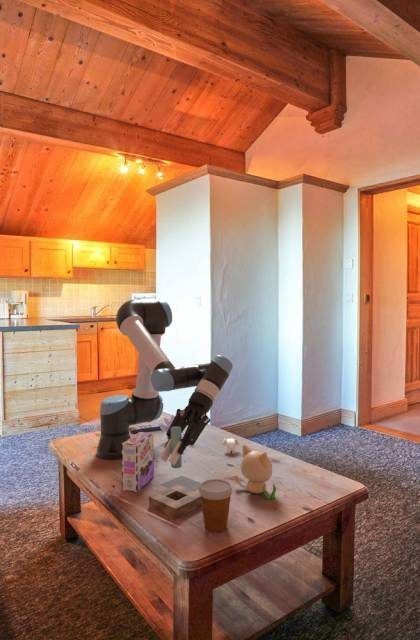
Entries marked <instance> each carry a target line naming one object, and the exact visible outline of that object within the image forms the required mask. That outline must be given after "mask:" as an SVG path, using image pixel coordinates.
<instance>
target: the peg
mask: <svg viewBox="0 0 420 640" xmlns="http://www.w3.org/2000/svg"><path fill="white" fill-rule="evenodd" d="M181 439H182V437H181V427H178V426H175V427H171V454H172V453H173V451H174V449H175V447H176V446H177V444H178V442H179V441H180V442H182V441H181ZM171 454H170V455H171ZM182 455H183V454H182ZM182 455H180V457H179V458H178V460H177V462H176V464H175V465H173V464H172V463H171V462H170V464H171V465H170V466H171V468H172V469H179V468H182V464H183V462H182Z"/></svg>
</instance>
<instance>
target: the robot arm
mask: <svg viewBox="0 0 420 640" xmlns="http://www.w3.org/2000/svg"><path fill="white" fill-rule="evenodd" d="M115 321H116V322H115V323H116V326H117V329H118V330H119V331H120V333H121V334H122V335H123V336H125V337H127V339H129V341H130V343H131V344H132V346H133V347H134V348H135V350H136V352H137V353H138V357H137V372H136V381H135V383H136V384H135V388H133V389H132V390H131V397H129V395H127V394H119V395H118V394H114V395H110V396H108V397H106V398H104V399H103V400H102V401H101V403H100V407H99V414H100V417H99V418H100V420H99V421H100V436H99V437H100V438H99V440H98V444H97V447H96V456H97V457H98V458H101V459H105V460H119V459H122V443H124V442H125V441H127V440H128V439H130V438H131V437H132V436H131V435H130V426H135V425H139V424H140V425H141V424H144V423H151V422H153V421H156V420H158V419H160V417H161V416H162V414H163V410H164V402H163V397H162V396H161V394H160V393H161V392H170V391H174V390H175V391H176V390H181V389H189V388H194V387H195V388H194V390H193V392H192V394H191V395H190V396H189V399H188V404H187V405H186V406H185V408H184V409H181V408H177V409H176V413H175V415H174V419H173V421H172V423H171V425H170V427H169V429H168V431H167V433H165V436H166V437H169V438H168V440H167V441H166V443H165V444H164V449H163V450H162V452H161V453H160V456H159V458H160V460H162V461H163V462H165V463H166V462H167V461H168V462H170V464H171V463H172V464H173V465H175V464H176V462H177V460H178V458H179V457H180V455H183V454H184V452H185V451H186V449H187V447H188V446H194V445H195V444H196V442H197V440H198V439H199V437H200V435H201V434H202V432H203V431H204V429H206V426H207V425H208V424H209V423H210V422H211V419H210V417H209V416H208V415H207V413H209V412H210V410H211V408H212V407H213V405H214V402H215V401H216V398H217V397H218V395H219V393H220V392H221V390H222V388H223V387H224V385H225V383H226V381H227V380H228V379H229V376H230V374H231V372H232V369H233V363H232V361H231V360H230V359H229V358H227V357H226V356H224V355H220V354H217V355H215V356H214V357H213V358H212V359H211V360H210V362H208V363H203V364H202V363H200V364H198V363H197V364H191V365H183V366H176V367H175V366H174V364H173V363H172V362H171V361H170V359H169V358H168V356H167V354H166V353H165V352H164V351H163V349H162V348H161V342H162V341H161V339H162V336H163V335H165V334H166V328H168V327H170V326H171V324H172V322H173V312H172V309H171V307H170V305H169V303H168V302H167V301H166V300H163V299H157V298H156V299H154V298H153V299H151V298H150V299H130V300H128V301H125V302H124V303H122V304H121V305H120V307H119V308H118V310H117V312H116V316H115ZM175 426H178V427H181V433H182V432H183V433H184V437H183V438H181V442H180V441H179V442H178V444H177V446H176V447H175V449H174V451H173V453H172V454H171V427H175ZM185 429H186V430H185Z"/></svg>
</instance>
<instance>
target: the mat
mask: <svg viewBox="0 0 420 640" xmlns="http://www.w3.org/2000/svg"><path fill="white" fill-rule="evenodd" d="M201 483H202V482H199V481H197V480H194V479H192V478H188V477H186V476H184V475H179V476H177V477H175V478H173V479H171V480H168V481H165V482H163V483H161V484H160V486H163V487H165V488H169V487H171V486H174V485H176V484H178V485H181V486H183V487H186V488H188V489H191V490H193V491H197V490H199V488H200V486H201Z"/></svg>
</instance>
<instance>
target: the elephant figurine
mask: <svg viewBox="0 0 420 640" xmlns="http://www.w3.org/2000/svg"><path fill="white" fill-rule="evenodd" d="M239 444H240V441H239V440H238V438H237V437H235V438H226V437H224V438H223V441H222V445H223V446H226V453H227V454H228V455H234V454H236V446H239Z"/></svg>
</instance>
